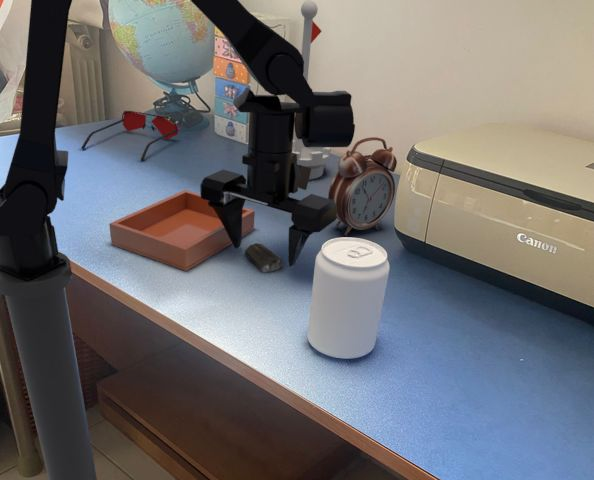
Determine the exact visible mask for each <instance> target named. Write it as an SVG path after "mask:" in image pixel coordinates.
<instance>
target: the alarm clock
mask: <svg viewBox="0 0 594 480" xmlns="http://www.w3.org/2000/svg"><path fill="white" fill-rule="evenodd" d="M372 141H379V142H381V143H382V145H383V148H379V149H376V150H375V151H374V152H373V153H372V154H368V155H367V154H366V155H363V154H362V153H361V152H360V151H356V150H357V148H358V146H359V145H361V144H363V143H366V142H372ZM393 149H394V148H393V147H392V146H389V147H388V145H387V143H386V140H385V139H383V138H380V137H377V136H376V137H373V136H372V137H371V136H370V137H365V138H363V139H360V140H358V141H356V142H355V144H354V145H353V146H352V149H351V150H349V149H348V150H346V153H344V154H343V155H341V157H340V158H339V160H338V162H337V168H338V171H337V172H336V174H335V176H333V179H332V181H331V183H330V186H329V190H328V196H327V198H328V199H332V200H334V202H335V204H336V206H337V208H338V209H337V216H336V219H337V220H338V221H337V224H335V227H336V228H338V227H339V226H340V225H341V223H342V224H344V225H346V226H347V228H346V231H345V232H344V235H345V236H348V233H350V231H351V230H352V229H354V230H359V231H363V230H368V229H370V228H372V227H374V229H375V230H376V231H378V230H379V226H378V223H379V222H381V221H382V220H383V218H385V216H386V215H387V213H388V212H389V210H390V209H391V206H392V204H393V201H394V198H395V192H396V184H395V178H394V176H393V174H392V173H394V172H395V171H396V168H397V164H398V161H397V158H396V156H395V154H393Z"/></svg>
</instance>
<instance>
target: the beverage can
mask: <svg viewBox="0 0 594 480" xmlns="http://www.w3.org/2000/svg"><path fill="white" fill-rule="evenodd" d="M389 275H390V263H389V260H388V252H387V251H386V249H385V248H384V247H382V246H381V245H379V244H378V243H376V242H374V241H371V240H368V239H365V238H359V237H351V236H350V237H349V236H348V237H347V236H345V237H344V236H343V237H335V238H332V239H329V240H326V241H325V242H324V243H323V244H322V246H321V249H320V250H319V251H318V253H317V254H316V256H315V263H314V271H313V281H312V289H311V298H310V307H309V317H308V324H307V325H308V326H307V327H308V328H307V334H306V336H307V340H308V342H309V344H310V345H311V346H312V347H313V348H314V350H316V351H318V352H320V353H321V354H323V355H325V356H328V357H331V358H335V359H336V358H337V359H346V360H347V359H349V360H350V359H357V358H361V357H364V356H366V355H368V354H369V353H371V352H372V351H373V350H374V348H375V346H376V342H377V336H378V331H379V327H380V323H381V322H380V321H381V316H382V311H383V305H384V300H385V295H386V290H387V285H388V280H389Z"/></svg>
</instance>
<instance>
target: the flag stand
mask: <svg viewBox="0 0 594 480" xmlns="http://www.w3.org/2000/svg"><path fill="white" fill-rule="evenodd" d="M300 13H301V16H302V17H303V30H302V31H303V32H302V44H301V53H300V54H301V55H302V57H303V60H304V73H303V76H304V77H305V79H306V81H307V82H308V80H309V68H310V57H311V47H312V46H311V44H313V42H314V41H315V40H316V39H317V37H319V35H320V34H321V33H322V29H321V28H320V26H319V25H317V24H316V23H315V22H314V18H315V17H316V16H317V14H318V5H317V4H316V2H315V1H314V0H305V1H304V2H303V3H302V4H301V7H300ZM331 149H332V147H305V146H304V144H303V142H302V139H297V137H296V134H295V133H294V139H293V147H292V153H296V154H297V164H298V165H302V166H306V167H309V168H311V172H310V177H309V180H314V179H318V178H320V177H322V176H323V174H324V167H325V164H327V163H329V161H330V160H331V152H332V151H331Z"/></svg>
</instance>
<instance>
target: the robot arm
mask: <svg viewBox="0 0 594 480" xmlns="http://www.w3.org/2000/svg"><path fill="white" fill-rule="evenodd" d="M189 1H190V2H191V3H192V4H193V5H194V6H195V7H196V8H197V9H198V10H199V11H200V12H201V13H202V14H203V16H205V18H207V20H209V22H210V23H212V24H213V26H215V28H217V30H219V32H220V33H221V34H222V35H223V37H224V38H225V39H226V41H227V42H228V44H229V45H230V47H231V49H232V50H233V52H234V53H235V55H236V56H237V58H238V60H239V61H240V62H241V64H242V65H243V67H244V68H245V69H246V71H247V72H248V74H249V76H251V78H252V79H253V80H254V81H255V82H256V83H257V84H259V86H260V87H261V88H262V89H264V91H265V92H267V93H268V94H255V93H254V91H252V89H251V88H250V87H248V86H246V87H244V90H243V91H242V92H241V94H239V95H238V96H237V97H236V98H235V99H233V101H232V103H233V104H232V105H234V107H235V108H236V110H237V111H238V112H239V113H248V114H249V115H248V138H247V139H248V140H247V141H248V142H247V144H248V145H247V153H245V154H243V155H242V157H241V158H242V160H241V164H243V165H246V167H247V168H246V169H247V171H246V177H245V176H244V175H243V174H241V173H238V172H234V171H230V170H227V169H220V170H219V171H216V172H214V173H212V174H209V175H207V176H205V177H204V178H203V179H202V180H201V183H200V185H199V194H200V197H201V199H205V200H208V206H210V207H212V208H213V209H214V211H215V212H216V214H217V216H218V217H219V219H220V221H221V222H222V224H223V226H224V228H225V230H226V232H227V234H228V236H229V238H230V240H231V242H232V244H231V245H232V246H233V248H234V249H236V250H238V249H239V248H240V247H241V245H242V238H243V237H242V209H243V207H244V206H245V203H246V201H248V202H252V203H256V204H259V205H262V206H265V207H269V208H272V209H276V210H279V211H282V212H286V213H289V214H291V217H290V220H291V222H292V223H293V224H292V225H290V226H289V227H288V245H287V247H288V252H287V254H288V256H287V260H288V266H289V267H290V268H292V267H294V266H295V265H296V263H297V261H298V259H299V257H300V256H301V253H302V251H303V249H304V247H305V245H306V243H307V241H308V239H309V238H310V236H311V235H312V234H315V233H320V232H322V230H324V229H326V228H327V227H329V226H330V225H331V224H332V223H334V222H335V221H336V220H337V218H336V216H337V209H338V208H337V206H336V204H335V202H334V200H332V199H328V197H325V196H320V195H317V194H314V193H310V194H309V195H307V196H306V197H304V198H302V199H301V200H300V199H297V198H294V197H290V194H295V193H297V192H299V189H301V190H304V191H306V190H307V188H308V184H309V180H310V179H309V177H310V172H311V168H309V167H306V166H302V165H298V164H297V154H296V153H292V147H293V140H294V135H295V134H296V137H297V139H302V142H303V144H304V146H305V147H331V148H348V147H350V145H351V144H352V142H353V140H354V139H353V138H354V136H355V131H356V130H355V129H356V124H355V118H354V110H353V106H352V97H353V95H352V94H351V93H349V92H348V91H347V90H334V91H314V90H313V89H312V88H311V86H310V84H309V82H308V81H306V79H305V77H304V76H303V73H304V60H303V57H302V55H301V54H302V53H301V52H300V51H299V49H298V48H297V47H296V46H294V45H293V44H292V43H290V41H288V40H287V39H286V38H284V37H283V36H282V35H280V34H279V33H277V32H276V31H275V30H274V29H272V28H271V27H269V26H268V25H267V24H266V23H264V22H262V21H261V20H260V19H259V18H258V17H256V16H255V15H254V14H252V13H251V12H250V11H248V10H247V9H246V7H245V6H244V5H243V4H242V3H241V2H240V1H239V0H189ZM72 3H73V0H30V9H29V10H30V13H29V22H28V35H27V47H26V57H25V67H24V68H25V69H24V78H23V79H24V80H23V81H24V82H23V83H24V84H23V92H22V93H23V95H22V103H21V104H22V105H21V115H20V128H19V135H18V138H17V141H16V145H15V148H14V152H13V155H12V158H11V161H10V165H9V168H8V172H7V175H6V179H5V182H4V184H3V185H2V186H1V187H0V271H1V272H4V273H6V274H8V275H11V276H13V277H16V278H18V279H20V280H23V281H26V282H28V281H31V280H33V279H36V278H38V277H40V276H42V275H44V274H46V273H48V272H50V271H52V270H54V269H56V268H59V267H61V266H63V265H65V264H66V260H65V259H63V258H60V257H58V256H57V255H58V253H59V252H60V251H59V248H58V241H57V235H56V230H55V226H54V225H53V224H52V219H51V216H50V215H51V214H52V213H53V212H54V211H55V209H56V208H57V204H58V200H60V201H61V202H63V201H64V200H65V189H66V174H67V172H68V167H69V166H68V165H69V151H68V150H61V149H59V150H58V149H57V148H58V147H57V140H56V127H57V118H58V110H59V101H60V92H61V86H62V85H61V84H62V76H63V75H62V74H63V67H64V58H65V49H66V41H67V31H68V23H69V15H70V9H71V6H72ZM279 96H287V97H289V98H290V100H292V101H294V102H289V101H288V102H287V101H286V102H285V101H281V100H280V98H279Z"/></svg>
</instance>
